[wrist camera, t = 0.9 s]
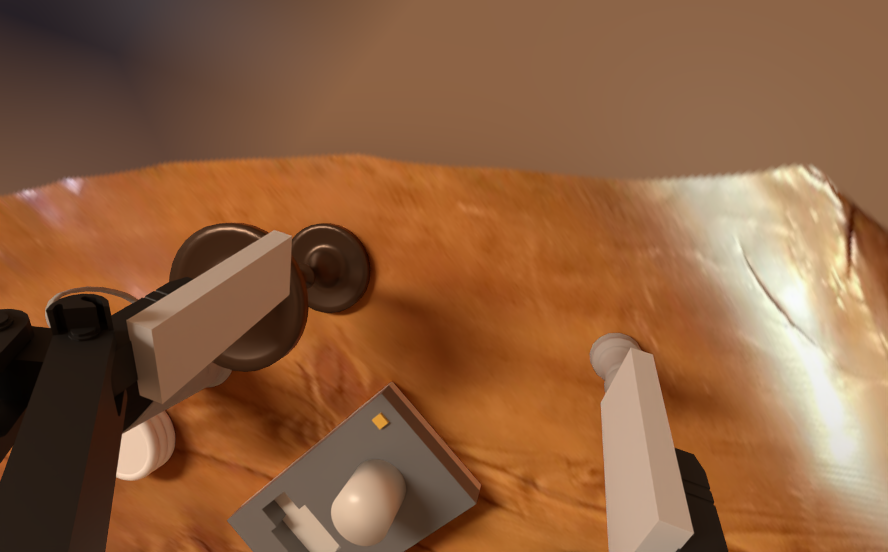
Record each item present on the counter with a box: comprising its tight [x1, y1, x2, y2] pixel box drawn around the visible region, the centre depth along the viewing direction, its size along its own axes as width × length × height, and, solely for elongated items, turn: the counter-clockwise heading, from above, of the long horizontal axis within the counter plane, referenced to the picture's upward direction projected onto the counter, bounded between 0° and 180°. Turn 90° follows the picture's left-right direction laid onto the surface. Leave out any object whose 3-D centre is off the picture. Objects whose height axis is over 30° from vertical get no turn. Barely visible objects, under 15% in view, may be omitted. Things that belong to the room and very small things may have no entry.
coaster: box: [116, 411, 175, 481], centre depth 55 cm, size 10×10×4 cm
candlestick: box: [169, 223, 370, 372], centre depth 29 cm, size 11×11×35 cm
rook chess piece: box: [590, 333, 642, 393], centre depth 37 cm, size 4×4×8 cm
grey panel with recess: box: [227, 382, 481, 552], centre depth 46 cm, size 14×26×8 cm, turn 132°
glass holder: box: [45, 287, 232, 434], centre depth 44 cm, size 9×14×15 cm, turn 16°
